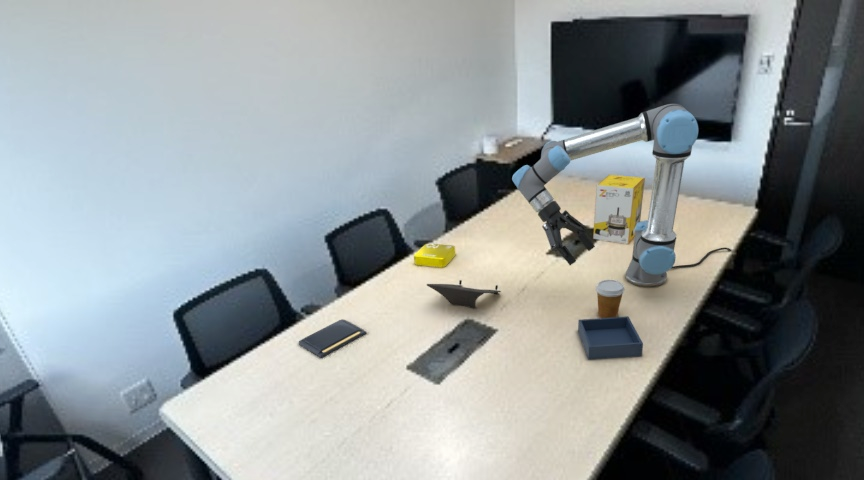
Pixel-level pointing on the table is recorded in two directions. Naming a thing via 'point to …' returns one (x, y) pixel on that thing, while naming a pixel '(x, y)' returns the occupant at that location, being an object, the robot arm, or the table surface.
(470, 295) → the dark gray curved stand
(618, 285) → the disposable coffee cup
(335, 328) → the wallet
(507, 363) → the table surface
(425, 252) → the element tile
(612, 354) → the bin
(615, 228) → the packaging box
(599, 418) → the table surface
